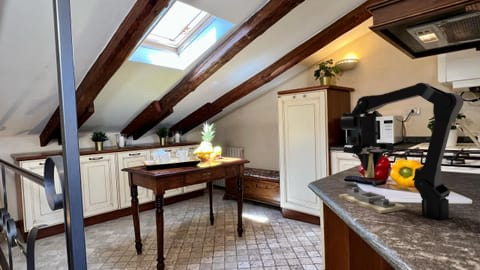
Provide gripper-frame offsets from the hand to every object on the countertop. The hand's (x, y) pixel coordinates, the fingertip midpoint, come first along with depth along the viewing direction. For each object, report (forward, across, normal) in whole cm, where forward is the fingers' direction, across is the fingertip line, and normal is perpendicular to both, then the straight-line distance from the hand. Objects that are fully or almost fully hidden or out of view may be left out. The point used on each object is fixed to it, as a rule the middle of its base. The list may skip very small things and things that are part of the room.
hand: (369, 170), depth 103 cm
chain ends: (+12, 0, 0) cm, 13 cm away
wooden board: (+12, 0, 0) cm, 13 cm away
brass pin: (+2, 0, 0) cm, 2 cm away
